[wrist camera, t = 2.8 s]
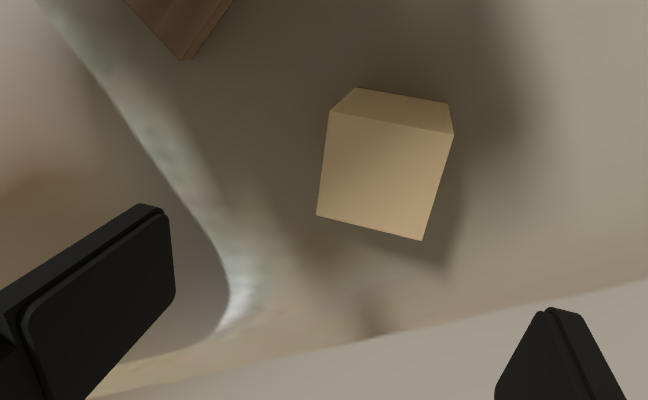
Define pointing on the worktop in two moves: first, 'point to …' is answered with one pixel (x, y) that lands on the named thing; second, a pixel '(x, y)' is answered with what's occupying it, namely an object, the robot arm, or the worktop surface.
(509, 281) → the worktop surface
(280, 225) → the worktop surface
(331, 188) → the tan block
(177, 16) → the stand
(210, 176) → the worktop surface
